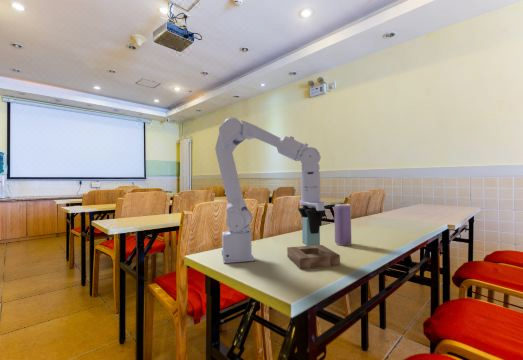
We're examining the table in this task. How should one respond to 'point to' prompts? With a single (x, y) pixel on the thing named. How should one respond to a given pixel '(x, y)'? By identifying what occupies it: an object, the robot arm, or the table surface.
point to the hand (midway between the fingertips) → (311, 231)
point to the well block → (313, 256)
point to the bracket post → (309, 234)
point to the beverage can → (342, 224)
